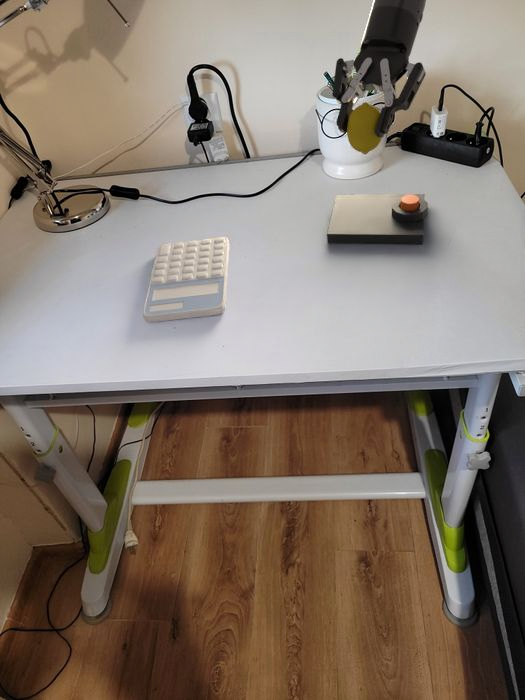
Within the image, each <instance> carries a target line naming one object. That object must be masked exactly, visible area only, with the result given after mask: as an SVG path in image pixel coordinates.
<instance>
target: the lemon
mask: <svg viewBox="0 0 525 700" xmlns="http://www.w3.org/2000/svg"><path fill="white" fill-rule="evenodd" d="M380 113H381V111H380V109H378V108H377V107H376V106H374V105H373V104H370V103H368V102H366V101H365V102H362V104H359V105H358V106H357V107H355V108H354V109H353V111H352V113H351V115H350V117H349V120H348V125H347V132H346V134H347V140H348V143H349V145H350V146H351V148H352V149H353V150H355V151H357V152H359V153H361V154H362V155H367V154H368V153H369V152H371V151H373V150H375V149H376V148H377V147H378V146H379V144H380V143H381V141H382V138H380V137H377V135H376V134H375V129H376V126H377V123H378V120H379V116H380Z"/></svg>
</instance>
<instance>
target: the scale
mask: <svg viewBox="0 0 525 700" xmlns="http://www.w3.org/2000/svg"><path fill="white" fill-rule="evenodd" d="M405 195H416V196H418V197H419V208H418V209H417V210H414V211H405V210H402V209H401V198H402V197H403V196H405ZM425 196H426V195H425V193H402V194H401V193H399V194H396V193H394V194H390V193H389V194H336V195H335V199H334V203H333V207H332V210H331V211H332V212H331V215H330V220H329V224H328V228H327V232H326V243H327V244H354V245H355V244H357V245H358V244H361V245H366V244H367V245H373V244H374V245H423V244H424V235H425V218H427V216H428V209H429V208H428V207H429V203H428V202H427V201H426V200H425Z"/></svg>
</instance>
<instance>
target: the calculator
mask: <svg viewBox="0 0 525 700" xmlns="http://www.w3.org/2000/svg"><path fill="white" fill-rule="evenodd" d="M229 258H230V241H229V238H228V237H226V236H218V237H209V238H202V239H193V240H185V241H178V242H177V241H176V242H170V243H164V244H160V245H159V246H157V248H156V253H155V257H154V261H153V266H152V270H151V274H150V279H149V283H148V287H147V291H146V295H145V300H144V304H143V308H142V317H143V319H144V321H145V322H147V323H157V322H165V321H174V320H183V319H184V320H185V319H193V318H200V317H201V318H202V317H212V316H218V315H221V314H223V313H224V312H225V310H226V305H227V289H228V274H229V260H230V259H229Z"/></svg>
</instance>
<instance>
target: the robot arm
mask: <svg viewBox="0 0 525 700" xmlns="http://www.w3.org/2000/svg"><path fill="white" fill-rule="evenodd" d="M426 3H427V0H373V2H372V6H371V10H370V13H369V16H368V19H367V23H366V26H365V29H364V31H363V32H364V33H363V36H362V40H361V44H360V50H359V52H358V54H357V55H356V56H355V57H354V59H351V60H345V59H344V58H342V57H340V58H338V59H337V60H336V63H335V71H334V78H333V87H332V93H331V94H332V97H333V99H334V100H335V101H336V103H338V105H340V107H339V112H338V115H337V118H336V126H337V129H338V130H339V132H340V133H342V134H347V125H348V120H349V117H350V115H351V113H352V111H353V110H354V109H353V108H354V107H355V106H356V104H357V103H358V102H359V100H360V99H361V98H363V97H364V96H365V95H366V93H367V92H368V91H370V92H372V91H378V92H381V93H383V98H384V107H381V110H380V116H379V120H378V123H377V126H376V129H375V134H376V135H377V137H380V138H384V136H385V135H387V134H388V133H389V131H390V128H391V125H392V123H393V118H394V115H395V114H396V113H397V112H398V111H404V112H405V111H408V110H410V107H411V105H412V104H413V101H414V100H415V98H416V95H417V93H418V91H419V89H420V87H421V85H422V83H423V81H424V79H425V78H426V70H425V68H424V65H423V63H422V62H420V61H418V62H416V63H411V62H410V56H411V54H412V50H413V47H414V43H415V41H416V37H417V34H418V31H419V28H420V25H421V23H422V21H423V17H424V11H425V7H426ZM354 70H355V75H354V76H353V78H352V79H351V81H350V82H349V85H348V80H349V78H350V77H351V75H352V73H353V71H354ZM404 75H406V78H407V79H406V81H405V84H404V86H403V87H402V90H401V92H400V94H399V96H398V95H397V85H396V83H397V82H398V81H399V80H401V78H403V77H404ZM347 87H348V88H347ZM397 96H398V97H397Z"/></svg>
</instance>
